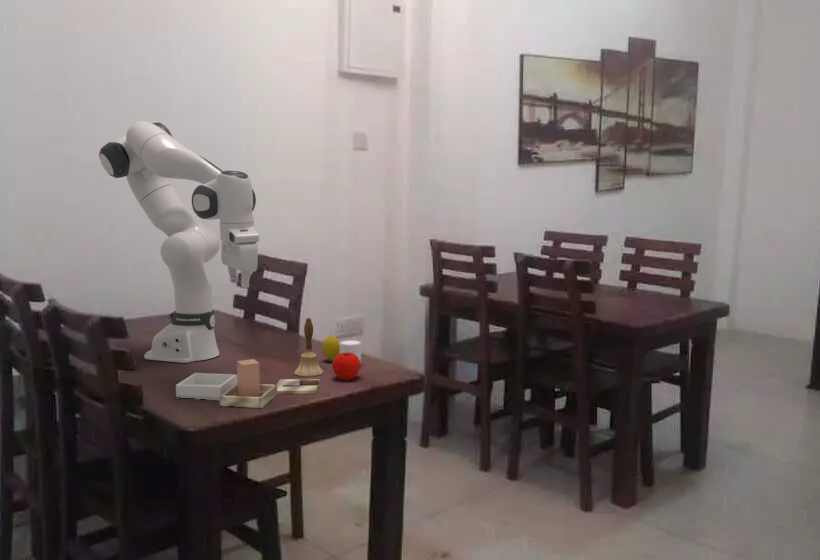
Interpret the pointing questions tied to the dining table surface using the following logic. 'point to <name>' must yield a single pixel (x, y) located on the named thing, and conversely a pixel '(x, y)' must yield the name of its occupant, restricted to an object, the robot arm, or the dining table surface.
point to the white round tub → (351, 347)
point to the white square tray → (205, 386)
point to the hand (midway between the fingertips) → (239, 285)
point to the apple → (346, 365)
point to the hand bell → (308, 355)
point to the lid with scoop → (297, 386)
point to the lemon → (330, 347)
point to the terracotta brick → (248, 378)
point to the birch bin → (251, 402)
